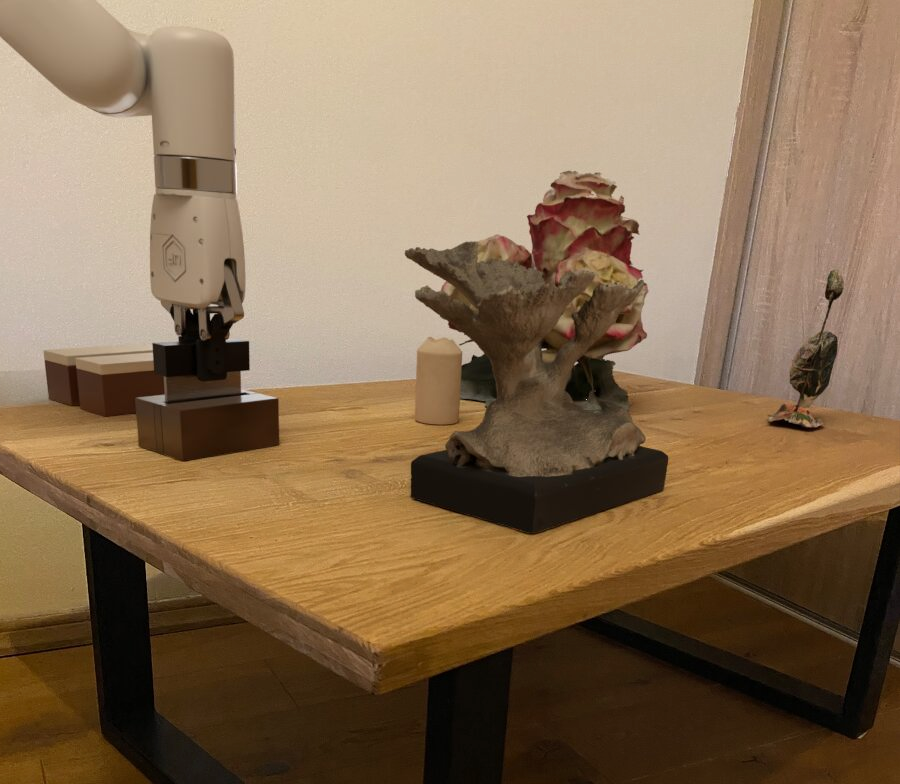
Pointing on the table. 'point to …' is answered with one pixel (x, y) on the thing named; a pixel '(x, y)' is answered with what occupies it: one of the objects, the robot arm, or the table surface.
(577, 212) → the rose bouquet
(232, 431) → the brown wooden slotted box
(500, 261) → the coral
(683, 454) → the table surface
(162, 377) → the wooden blocks
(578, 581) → the table surface
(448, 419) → the candle
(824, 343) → the plant with pod
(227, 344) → the dark piece
